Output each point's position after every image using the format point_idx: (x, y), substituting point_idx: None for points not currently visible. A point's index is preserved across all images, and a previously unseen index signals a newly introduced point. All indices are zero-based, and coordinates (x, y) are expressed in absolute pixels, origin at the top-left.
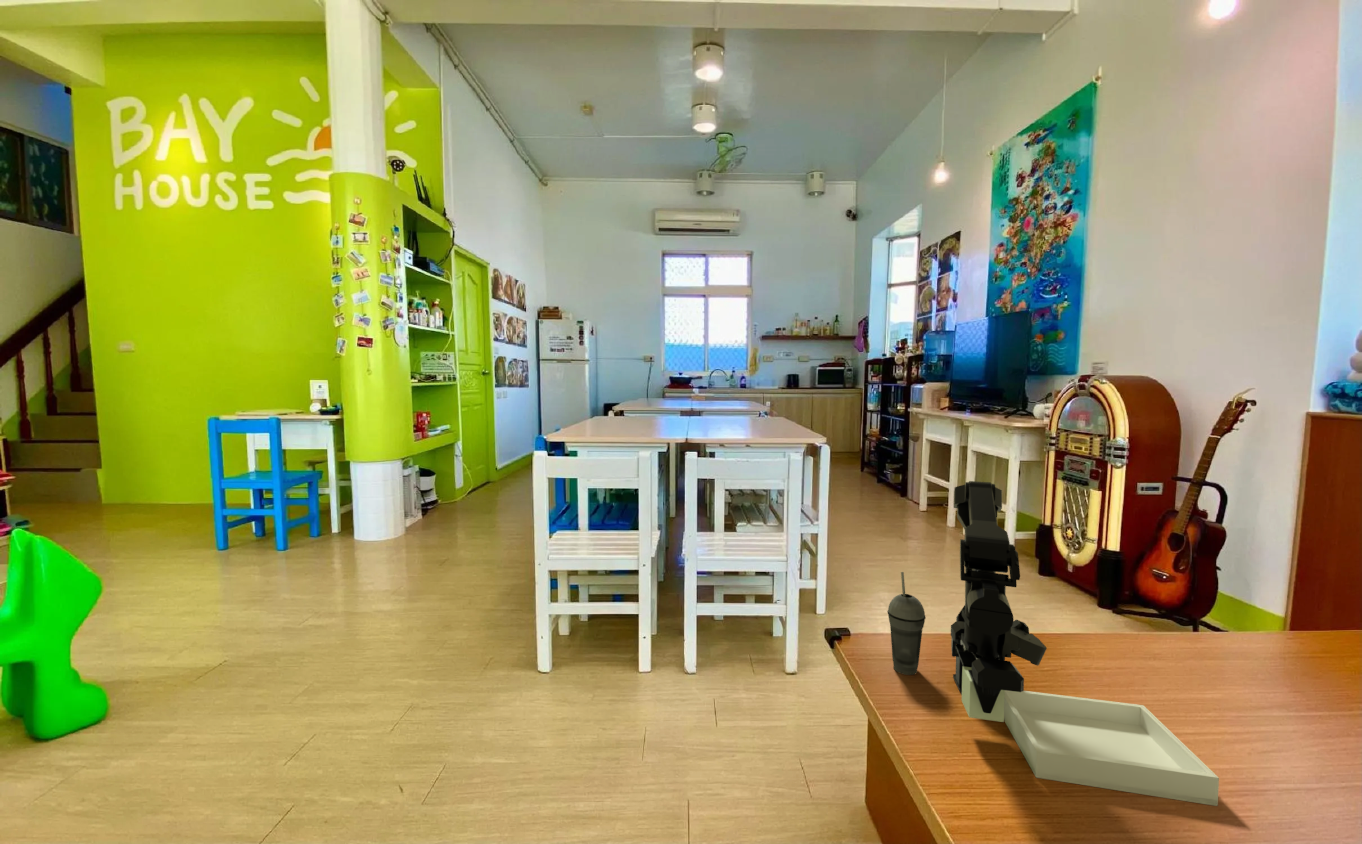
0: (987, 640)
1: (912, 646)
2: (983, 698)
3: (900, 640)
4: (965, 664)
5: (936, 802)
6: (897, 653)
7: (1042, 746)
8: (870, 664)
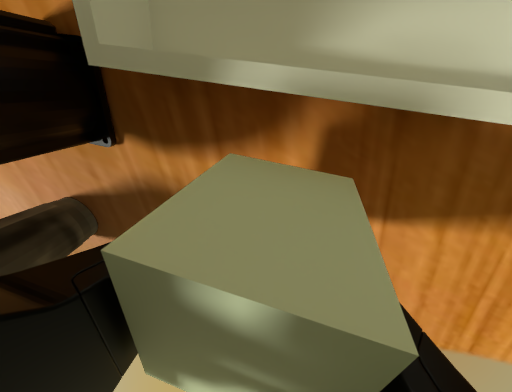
0: None
1: (19, 262)
2: None
3: None
4: (123, 368)
5: (500, 355)
6: None
7: (377, 7)
8: None
